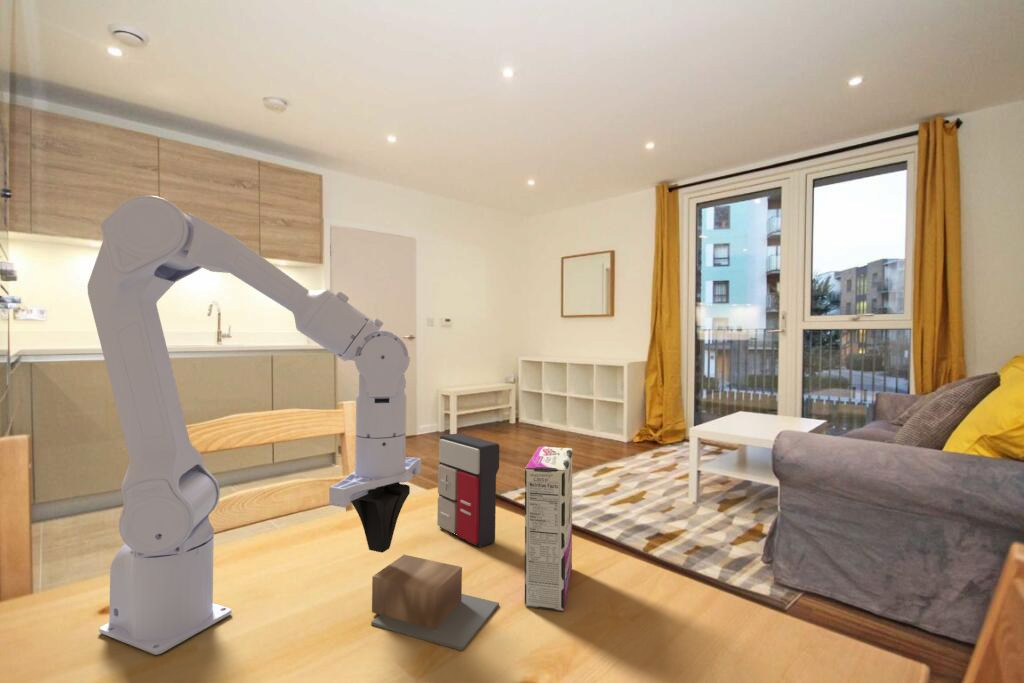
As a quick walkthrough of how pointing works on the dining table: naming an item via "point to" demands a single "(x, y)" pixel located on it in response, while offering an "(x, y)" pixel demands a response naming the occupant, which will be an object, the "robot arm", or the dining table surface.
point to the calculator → (468, 487)
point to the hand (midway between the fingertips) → (379, 549)
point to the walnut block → (417, 591)
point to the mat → (447, 623)
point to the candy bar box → (548, 528)
